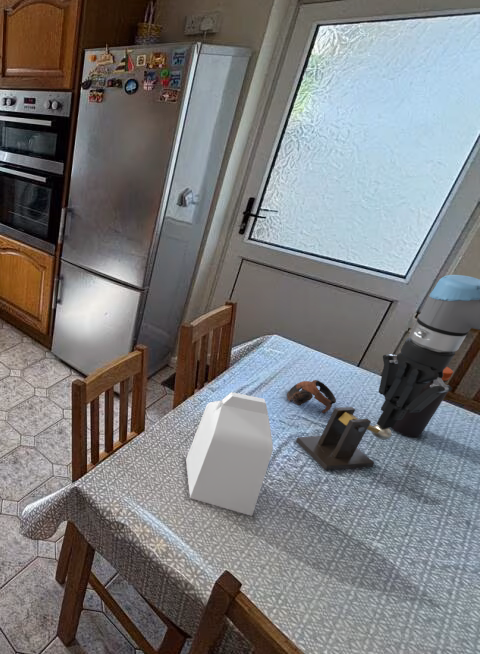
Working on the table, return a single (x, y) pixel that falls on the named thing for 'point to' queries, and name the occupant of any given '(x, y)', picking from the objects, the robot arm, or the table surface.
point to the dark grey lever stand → (338, 443)
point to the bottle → (421, 412)
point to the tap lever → (375, 430)
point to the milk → (230, 453)
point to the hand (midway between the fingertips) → (384, 425)
